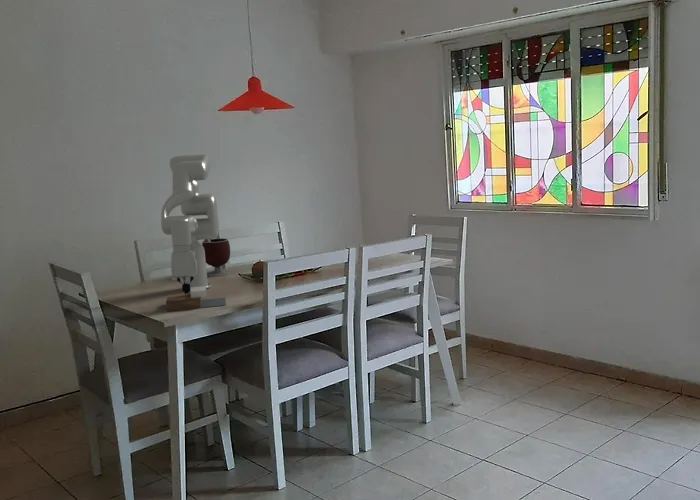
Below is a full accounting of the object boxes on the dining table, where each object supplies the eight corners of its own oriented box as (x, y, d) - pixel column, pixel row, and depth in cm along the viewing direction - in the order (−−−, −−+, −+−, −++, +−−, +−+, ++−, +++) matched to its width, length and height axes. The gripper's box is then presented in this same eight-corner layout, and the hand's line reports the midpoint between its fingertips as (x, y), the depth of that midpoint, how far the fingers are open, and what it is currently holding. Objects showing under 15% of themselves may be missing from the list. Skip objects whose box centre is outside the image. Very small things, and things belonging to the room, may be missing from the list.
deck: (169, 303, 283) (168, 294, 283) (201, 300, 286) (200, 291, 285) (167, 311, 270) (166, 301, 269) (200, 308, 272) (199, 298, 272)
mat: (201, 300, 286) (201, 299, 286) (225, 298, 288) (225, 297, 288) (200, 308, 272) (200, 307, 272) (225, 305, 274) (225, 304, 274)
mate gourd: (237, 271, 348) (234, 232, 345) (222, 276, 336) (218, 236, 332) (211, 270, 354) (208, 232, 351) (195, 276, 341) (192, 236, 338)
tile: (191, 293, 282) (190, 287, 281) (206, 291, 283) (205, 286, 283) (191, 297, 273) (190, 291, 273) (206, 296, 274) (205, 290, 274)
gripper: (201, 245, 279) (205, 289, 282) (164, 248, 277) (168, 293, 280) (201, 248, 272) (205, 293, 275) (162, 251, 269) (167, 297, 272)
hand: (186, 293), depth 277 cm, fingers closed
